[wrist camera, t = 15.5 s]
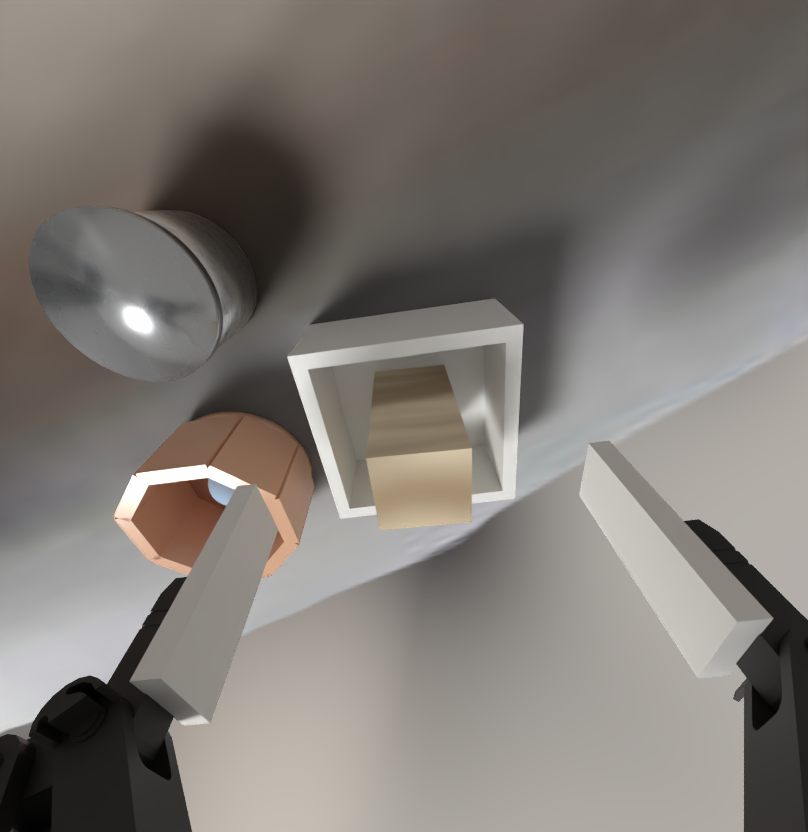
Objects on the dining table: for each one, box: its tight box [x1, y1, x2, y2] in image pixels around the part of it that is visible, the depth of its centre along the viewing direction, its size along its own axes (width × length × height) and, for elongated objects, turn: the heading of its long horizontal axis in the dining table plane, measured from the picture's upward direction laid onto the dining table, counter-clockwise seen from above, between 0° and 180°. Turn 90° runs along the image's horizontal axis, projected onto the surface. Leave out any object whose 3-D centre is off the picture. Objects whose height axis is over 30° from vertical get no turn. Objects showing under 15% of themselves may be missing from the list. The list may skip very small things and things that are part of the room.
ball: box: [208, 478, 235, 506], centre depth 21 cm, size 3×3×3 cm
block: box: [366, 365, 472, 530], centre depth 17 cm, size 4×4×8 cm
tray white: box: [287, 298, 524, 519], centre depth 19 cm, size 10×10×5 cm
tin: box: [29, 206, 257, 382], centre depth 15 cm, size 6×6×5 cm
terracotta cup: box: [113, 411, 315, 578], centre depth 21 cm, size 9×9×6 cm
